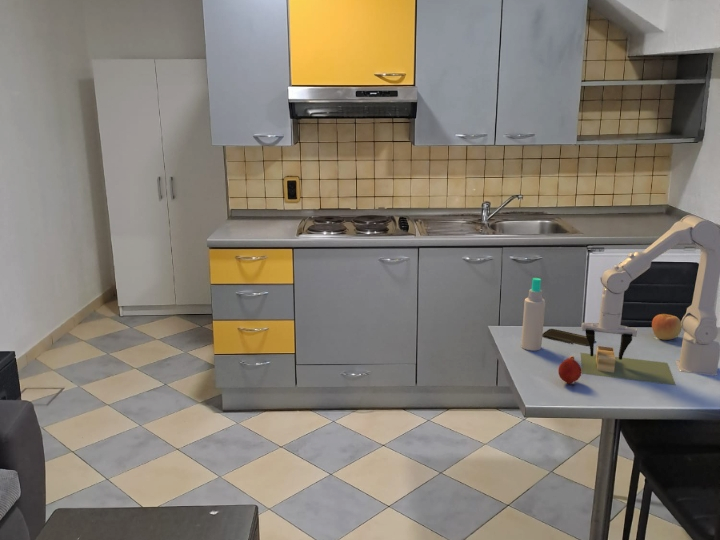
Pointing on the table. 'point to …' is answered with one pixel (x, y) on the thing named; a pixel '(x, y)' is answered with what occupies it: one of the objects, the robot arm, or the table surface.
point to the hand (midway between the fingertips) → (605, 356)
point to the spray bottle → (533, 318)
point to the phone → (566, 337)
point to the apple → (666, 326)
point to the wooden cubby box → (605, 359)
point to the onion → (569, 370)
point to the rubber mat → (630, 369)
